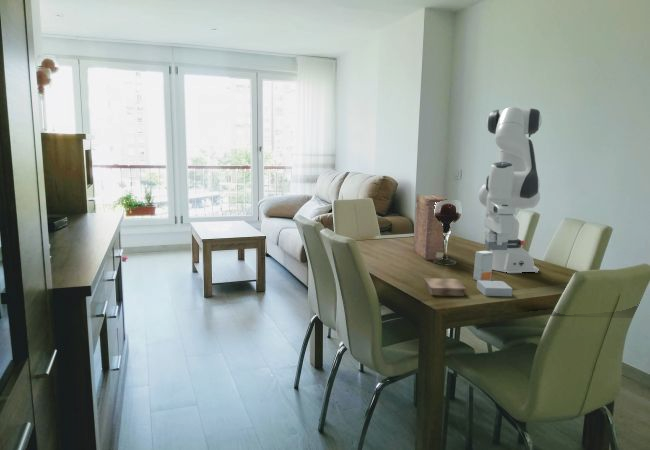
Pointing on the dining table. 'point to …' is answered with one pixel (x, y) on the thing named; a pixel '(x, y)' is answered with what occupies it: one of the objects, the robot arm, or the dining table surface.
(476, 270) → the skincare box
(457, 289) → the tan flat square slab
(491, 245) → the block
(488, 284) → the grey stand
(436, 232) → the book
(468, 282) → the dining table surface
